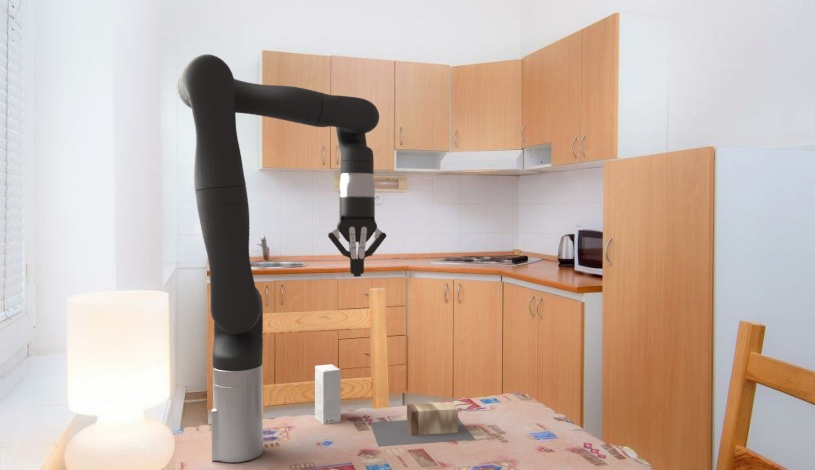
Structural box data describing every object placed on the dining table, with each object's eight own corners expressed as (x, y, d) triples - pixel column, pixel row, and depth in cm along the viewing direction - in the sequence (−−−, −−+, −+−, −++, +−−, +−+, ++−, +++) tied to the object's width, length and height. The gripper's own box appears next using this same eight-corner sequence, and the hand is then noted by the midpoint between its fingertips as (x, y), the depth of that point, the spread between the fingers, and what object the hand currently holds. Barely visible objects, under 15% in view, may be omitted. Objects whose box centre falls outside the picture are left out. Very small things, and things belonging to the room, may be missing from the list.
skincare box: (341, 423, 135) (341, 369, 135) (323, 426, 133) (323, 371, 133) (332, 415, 140) (331, 363, 140) (314, 417, 139) (314, 365, 138)
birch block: (411, 411, 126) (458, 409, 128) (407, 404, 131) (452, 401, 133) (411, 435, 127) (457, 432, 128) (406, 427, 131) (451, 424, 133)
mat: (378, 448, 121) (378, 446, 121) (369, 423, 135) (369, 422, 135) (475, 441, 124) (475, 439, 124) (457, 418, 138) (457, 416, 138)
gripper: (326, 194, 125) (326, 278, 126) (390, 195, 128) (390, 277, 128) (324, 195, 133) (325, 275, 133) (385, 196, 135) (385, 274, 136)
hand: (357, 276), depth 131 cm, fingers closed
